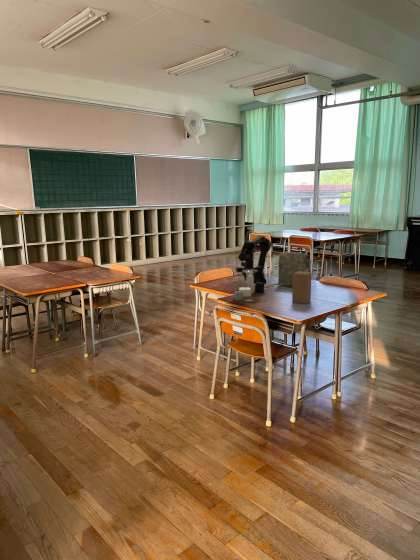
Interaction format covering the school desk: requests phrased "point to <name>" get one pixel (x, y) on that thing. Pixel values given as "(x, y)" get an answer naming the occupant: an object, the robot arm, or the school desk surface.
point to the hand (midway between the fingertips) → (249, 281)
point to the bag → (291, 266)
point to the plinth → (246, 291)
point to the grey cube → (238, 295)
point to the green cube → (249, 279)
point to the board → (249, 300)
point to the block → (301, 287)
